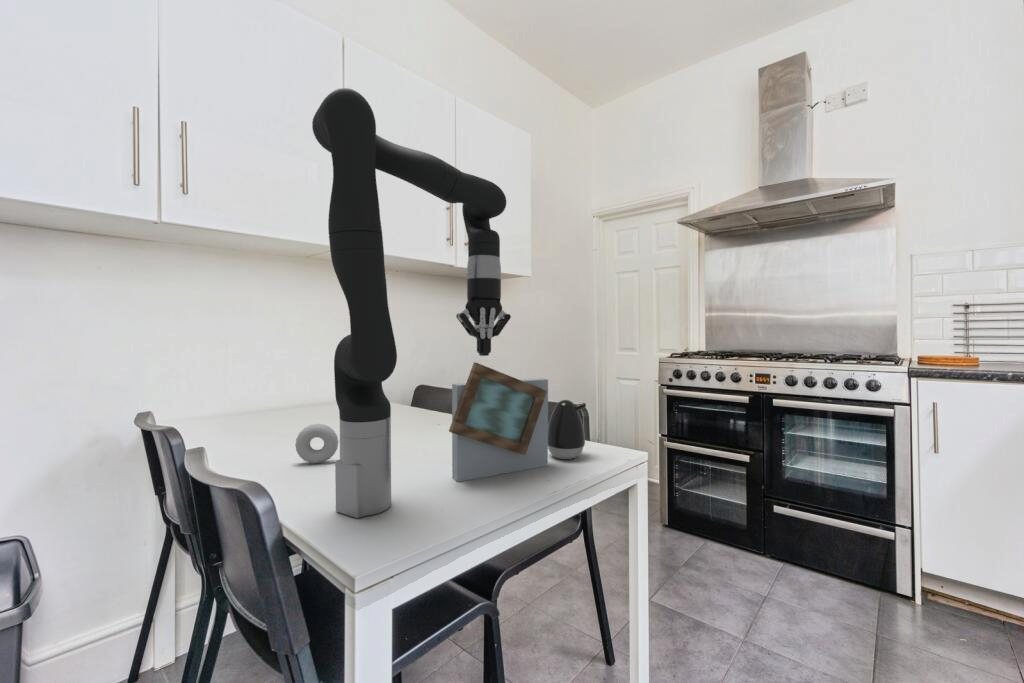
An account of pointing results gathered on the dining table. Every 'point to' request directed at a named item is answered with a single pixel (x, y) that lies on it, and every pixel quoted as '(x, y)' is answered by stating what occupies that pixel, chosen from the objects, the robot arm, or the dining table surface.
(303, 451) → the donut
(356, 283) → the robot arm
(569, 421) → the black electric kettle
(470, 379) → the picture frame
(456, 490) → the dining table surface
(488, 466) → the wall board
